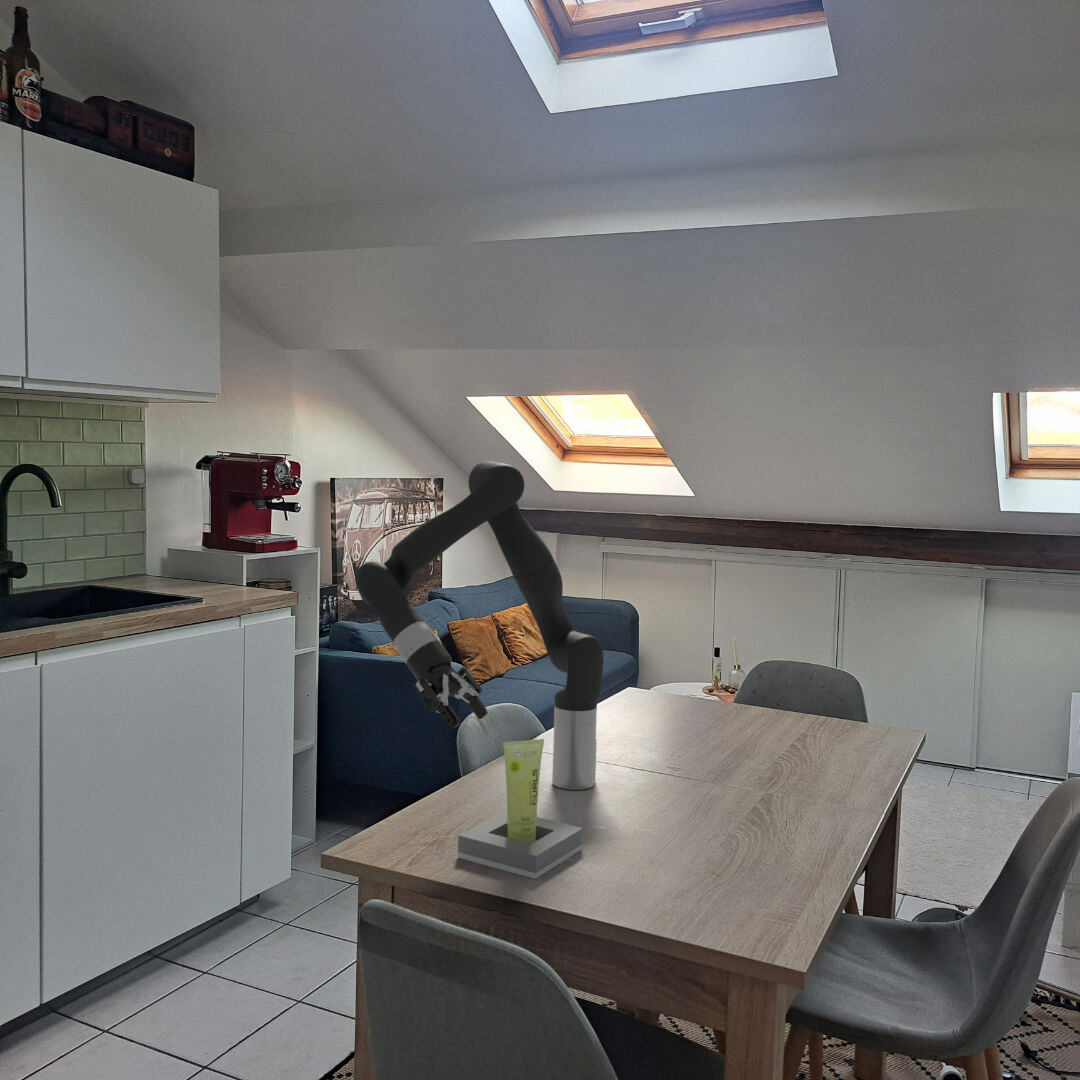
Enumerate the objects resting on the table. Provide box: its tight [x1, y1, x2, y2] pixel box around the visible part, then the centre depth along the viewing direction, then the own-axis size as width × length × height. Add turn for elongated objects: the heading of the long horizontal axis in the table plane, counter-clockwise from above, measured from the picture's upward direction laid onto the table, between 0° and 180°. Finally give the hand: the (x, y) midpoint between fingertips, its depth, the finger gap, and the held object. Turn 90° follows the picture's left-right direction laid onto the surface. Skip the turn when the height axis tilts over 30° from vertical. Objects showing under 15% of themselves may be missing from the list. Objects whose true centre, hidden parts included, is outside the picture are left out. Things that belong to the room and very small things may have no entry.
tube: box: [502, 738, 545, 844], centre depth 177 cm, size 6×5×20 cm
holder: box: [457, 810, 584, 880], centre depth 178 cm, size 16×16×4 cm
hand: (470, 721), depth 182 cm, fingers open, 8 cm apart
